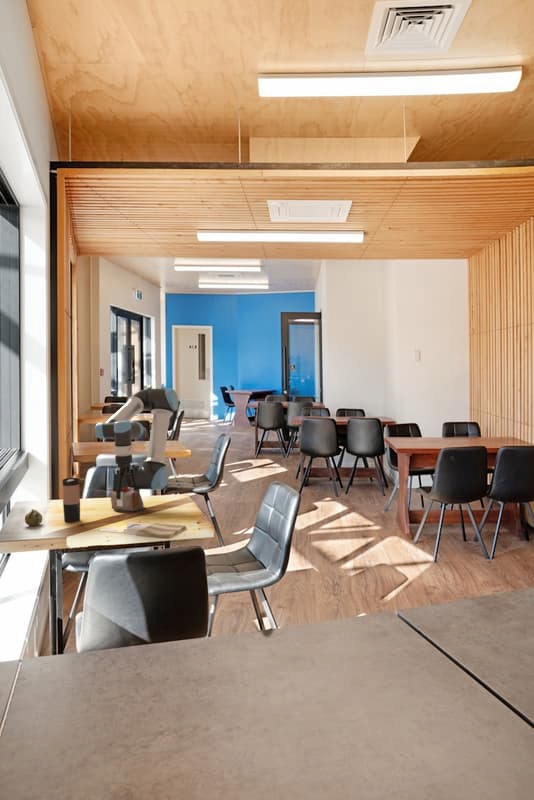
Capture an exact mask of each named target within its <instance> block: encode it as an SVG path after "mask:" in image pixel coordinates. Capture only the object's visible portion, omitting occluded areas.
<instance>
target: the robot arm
mask: <svg viewBox="0 0 534 800" xmlns="http://www.w3.org/2000/svg"><path fill="white" fill-rule="evenodd" d="M178 408H179V397H178V393H177V391H176V390H175V389H173V388H144V389H142V390H139V391H136V392H135V393H134V394H132V395H131V396H129V397H128V399H127V400H126V402H125V404H124V405H123V406H122V407H120V408H119V409H118V410H117V411H116V412H115V413H114V414H113V415H112V416H110V418H108V419H107V420H106V421H105V422H98V423H96V424H95V427H94V434H95V436H96V438H98V439H104V440H105V439H108V440H109V439H112V440H113V439H114V454H115V456H114V459H115V460H114V461H115V462H114V463H115V464H116V465H117V466H116V469H113V470H112V471H113V480H112V483H113V485H112V491H114V492H116V498H117V506H123V492H121V490H122V488H124V487H125V488H127V487H128V489H130V491H138V492H141V491H140V490H149V491H150V490H152V491H158V490H159V491H160V490H163V489H165V487H167V484H168V482H169V478H170V470H169V468H168V467H167V463H166V462H165V453H166V447H167V446H166V445H167V439H168V432H169V425H170V418H171V417H172V416H173V414H174V411H175V412H176V411H177V410H178ZM144 411H150V412H151V415H152V421H151V422H152V423H151V429H150V434H149V441H148V450H147V454H146V455H147V457H146V459H145V460H144V461H143V462H142V466H140V464H139V463H138V462H133V449H132V447H133V446H132V445H133V444H132V443H133V442H132V440H134V439H139V438H140V437H141V436H142V435H143V434H144V432H145V431H144V426H143V424H142V423H140V422H138V421H133V422H131V420H132V419H133V418H134V417H135V416H136V415H137V414H141V413H142V412H144ZM144 507H145V506H144V502H143V498H142V496H141V494H140V509H137V510H135V511H131V510H122V509H113V511H114V512H118V513H133V512H138V511H141V510H143V509H144Z"/></svg>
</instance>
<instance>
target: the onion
mask: <svg viewBox="0 0 534 800" xmlns="http://www.w3.org/2000/svg"><path fill="white" fill-rule="evenodd" d="M24 522H25V524H26V525H27V526H30V527H36V526H38V525H39V526H40V524H41V523H42V522H43V515H42V514H41V513H40V512H39V511H38V510H37V509H32V508H31V511H29V512H28V513H26V514H25V516H24Z"/></svg>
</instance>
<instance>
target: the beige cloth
mask: <svg viewBox="0 0 534 800" xmlns="http://www.w3.org/2000/svg"><path fill="white" fill-rule="evenodd" d="M186 529H187V525H181V524H172V523H170V524H169V523H160V522H159V523H158V522H154V523H153V524H152V525H150V526H148V527H146V528H144V529H142V530H140V531H138V532H136V533H135V536H141V537H150V538H151V537H152V538H159V539H170V538H172V537H174V536H175V535H177V534H178V533H181V532H182V531H184V530H186Z"/></svg>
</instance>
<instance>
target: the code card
mask: <svg viewBox="0 0 534 800" xmlns="http://www.w3.org/2000/svg"><path fill="white" fill-rule="evenodd" d="M126 522H127V527H126V528H127V529H124V531H123V532H121V533H119V532H117V530H112V529H111V530H110V529H109V528H107V529H106V527H103V528H101V529H98V532H107V533H115V534H116V533H119V534H128V535H134V534H136V532H138V531H140V530H142V529H144V528H146V527H148V526H150V525H152V524H151V523H150V524H149V523H139V522H138V523H137V522H128V521H126Z"/></svg>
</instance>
